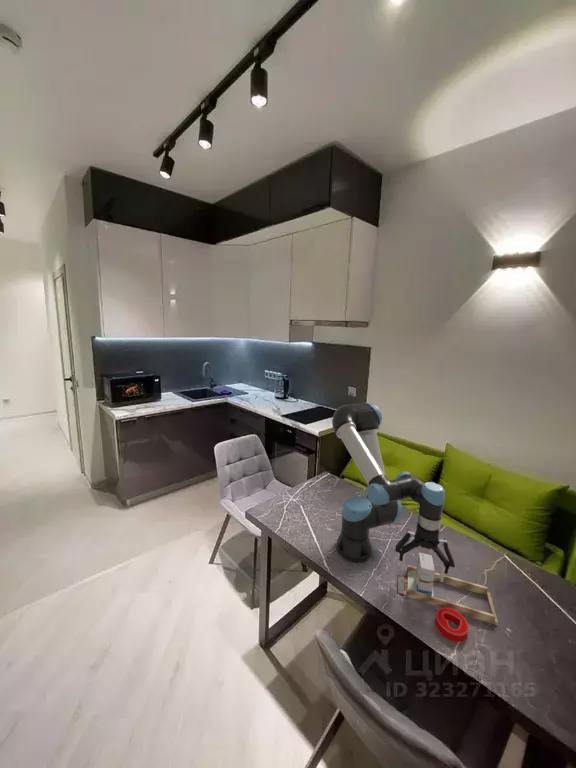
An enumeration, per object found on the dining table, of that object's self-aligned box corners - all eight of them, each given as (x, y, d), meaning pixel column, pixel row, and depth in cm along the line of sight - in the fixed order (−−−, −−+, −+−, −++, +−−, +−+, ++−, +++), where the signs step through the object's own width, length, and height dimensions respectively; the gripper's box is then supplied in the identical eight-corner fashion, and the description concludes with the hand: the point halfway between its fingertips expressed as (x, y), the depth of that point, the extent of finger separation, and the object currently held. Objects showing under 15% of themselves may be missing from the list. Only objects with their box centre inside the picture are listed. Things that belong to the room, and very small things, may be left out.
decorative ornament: (473, 633, 104) (475, 626, 103) (455, 648, 99) (456, 640, 99) (446, 609, 112) (448, 602, 111) (428, 622, 107) (430, 614, 107)
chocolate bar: (409, 600, 116) (410, 599, 115) (395, 596, 117) (396, 594, 117) (409, 577, 126) (409, 576, 125) (396, 573, 127) (396, 572, 127)
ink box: (431, 598, 116) (435, 571, 113) (417, 595, 117) (420, 568, 114) (428, 579, 124) (431, 554, 121) (414, 577, 125) (418, 551, 122)
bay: (405, 596, 117) (406, 589, 116) (406, 570, 128) (407, 564, 127) (497, 625, 107) (498, 618, 106) (489, 594, 118) (490, 588, 117)
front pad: (407, 595, 117) (407, 594, 117) (407, 572, 127) (408, 572, 127) (433, 603, 114) (434, 602, 114) (432, 579, 124) (432, 579, 124)
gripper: (391, 522, 115) (386, 570, 120) (469, 541, 106) (459, 592, 112) (393, 510, 122) (387, 556, 127) (466, 527, 113) (457, 576, 118)
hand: (421, 573), depth 119 cm, fingers open, 13 cm apart
